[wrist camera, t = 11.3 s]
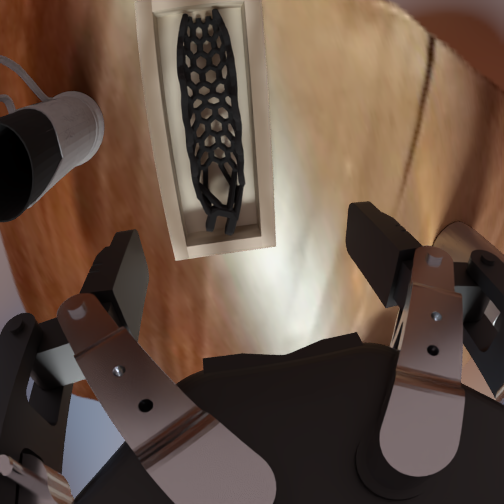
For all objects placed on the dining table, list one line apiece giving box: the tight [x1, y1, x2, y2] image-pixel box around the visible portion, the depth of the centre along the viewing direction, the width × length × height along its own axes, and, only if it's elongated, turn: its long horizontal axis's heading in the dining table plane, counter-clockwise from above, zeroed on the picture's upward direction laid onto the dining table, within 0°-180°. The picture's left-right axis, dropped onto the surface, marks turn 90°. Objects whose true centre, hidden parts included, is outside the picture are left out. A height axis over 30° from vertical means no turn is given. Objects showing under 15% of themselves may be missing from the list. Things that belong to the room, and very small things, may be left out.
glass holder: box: [0, 55, 104, 222], centre depth 20 cm, size 9×14×15 cm, turn 14°
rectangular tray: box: [135, 0, 276, 261], centre depth 28 cm, size 11×27×4 cm, turn 4°
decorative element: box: [177, 9, 246, 236], centre depth 26 cm, size 22×5×6 cm, turn 5°
